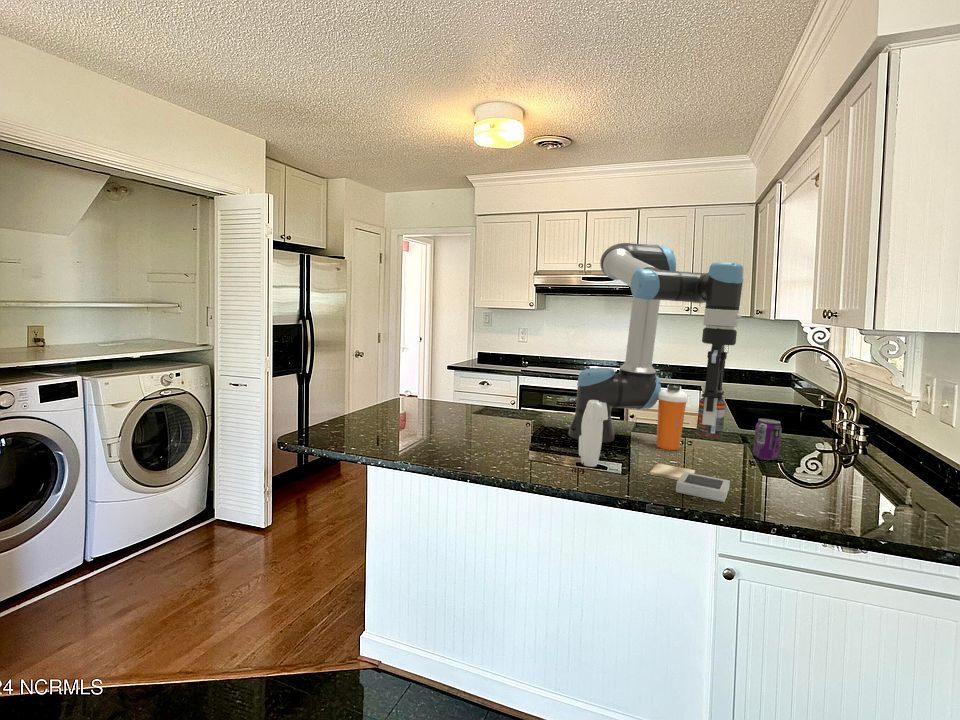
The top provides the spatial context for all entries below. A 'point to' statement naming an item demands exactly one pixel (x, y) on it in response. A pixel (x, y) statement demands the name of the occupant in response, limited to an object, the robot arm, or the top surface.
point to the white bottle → (592, 432)
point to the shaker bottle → (670, 417)
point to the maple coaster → (669, 471)
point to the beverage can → (767, 439)
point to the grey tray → (703, 486)
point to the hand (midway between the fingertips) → (710, 422)
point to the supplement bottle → (717, 429)
